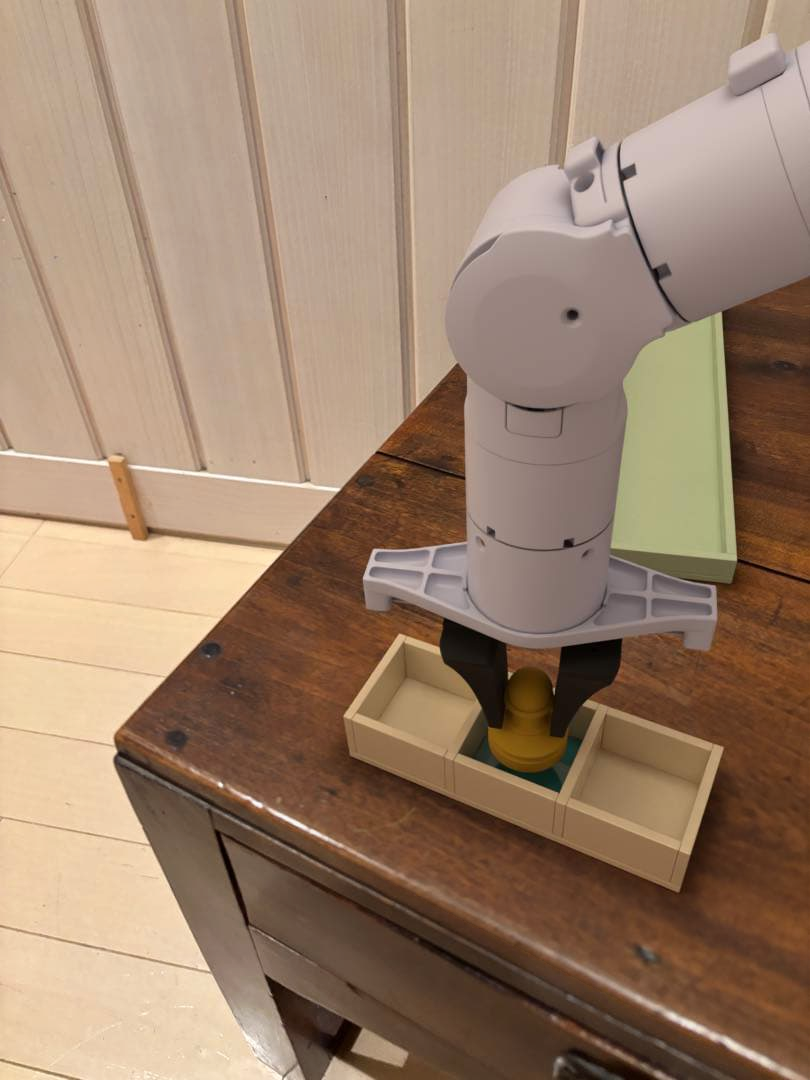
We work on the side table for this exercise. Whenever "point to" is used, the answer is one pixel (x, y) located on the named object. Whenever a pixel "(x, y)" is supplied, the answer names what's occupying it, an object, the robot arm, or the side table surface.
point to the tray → (678, 459)
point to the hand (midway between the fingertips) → (528, 716)
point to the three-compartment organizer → (555, 793)
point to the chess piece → (527, 724)
